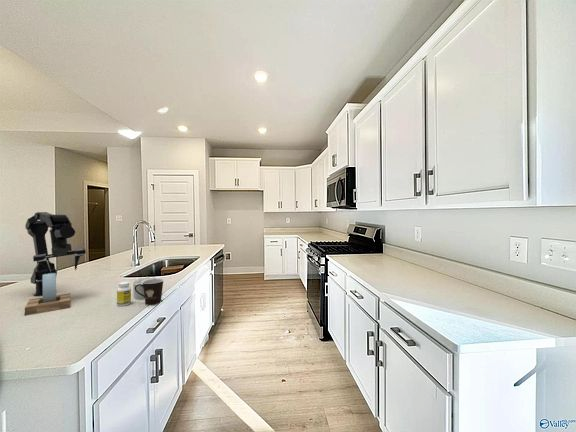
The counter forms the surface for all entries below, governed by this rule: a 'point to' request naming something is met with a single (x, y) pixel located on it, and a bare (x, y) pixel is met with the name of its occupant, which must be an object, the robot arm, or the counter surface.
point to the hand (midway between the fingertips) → (63, 272)
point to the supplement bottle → (123, 294)
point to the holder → (47, 304)
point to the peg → (49, 287)
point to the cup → (139, 288)
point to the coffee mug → (152, 291)
